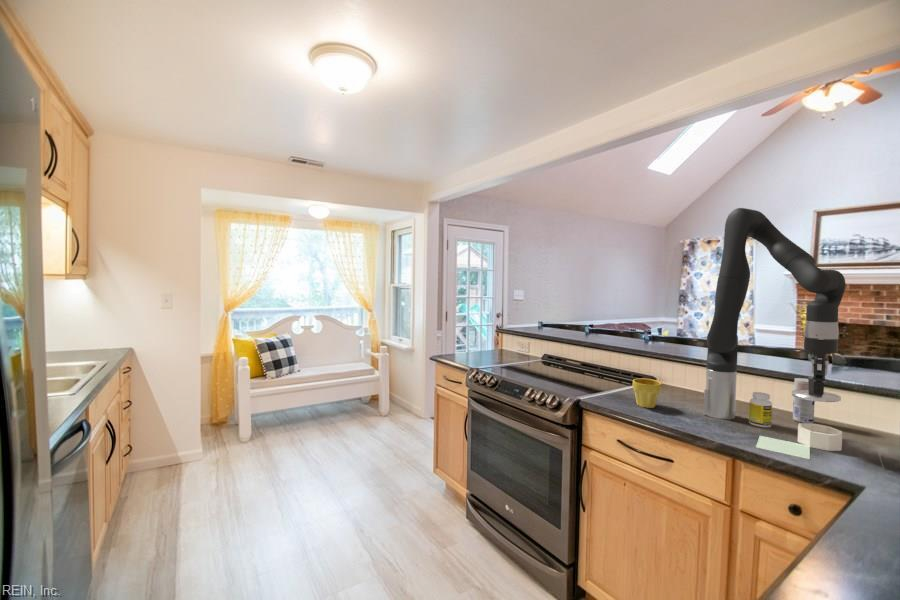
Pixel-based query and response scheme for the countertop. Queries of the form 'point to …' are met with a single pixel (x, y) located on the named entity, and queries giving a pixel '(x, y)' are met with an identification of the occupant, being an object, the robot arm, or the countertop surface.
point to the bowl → (820, 436)
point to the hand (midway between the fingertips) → (818, 392)
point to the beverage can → (802, 403)
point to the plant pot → (646, 392)
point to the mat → (784, 447)
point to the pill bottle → (760, 410)
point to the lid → (814, 397)
